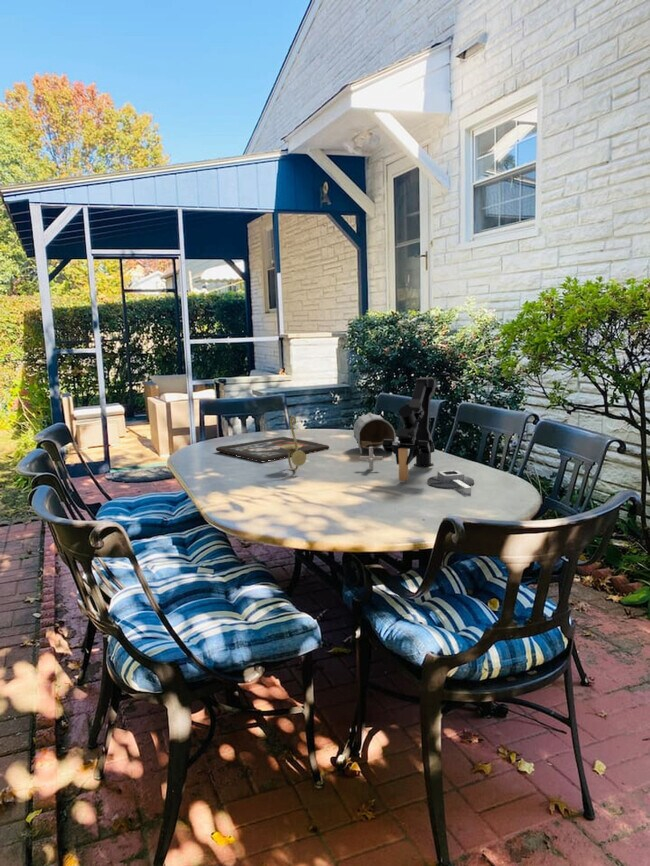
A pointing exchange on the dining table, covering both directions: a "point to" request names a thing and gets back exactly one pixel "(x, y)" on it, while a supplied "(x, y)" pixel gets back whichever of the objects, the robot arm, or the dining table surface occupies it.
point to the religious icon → (269, 448)
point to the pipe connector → (371, 458)
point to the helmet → (372, 431)
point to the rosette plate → (452, 481)
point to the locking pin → (403, 464)
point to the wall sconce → (297, 456)
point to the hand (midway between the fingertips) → (402, 464)
